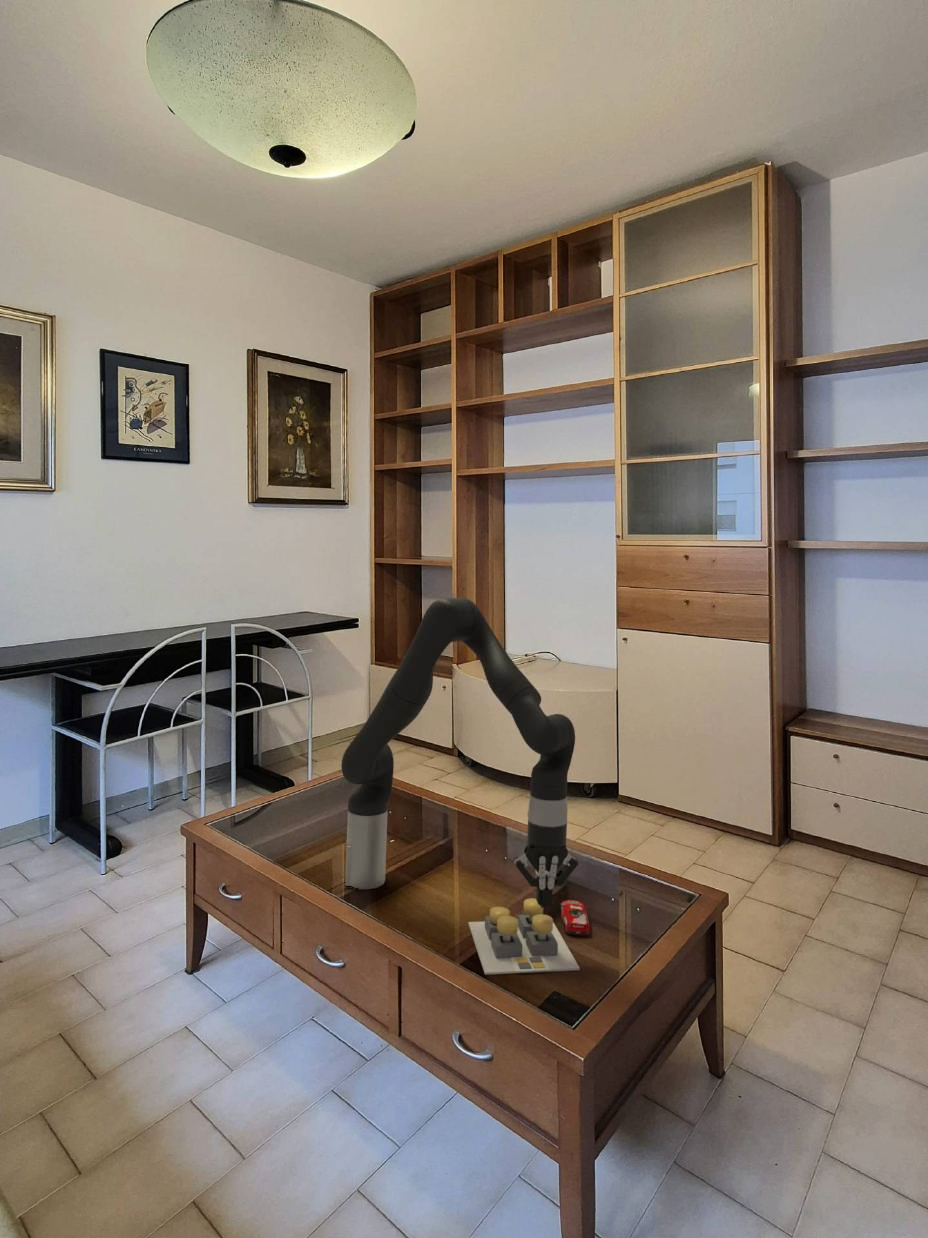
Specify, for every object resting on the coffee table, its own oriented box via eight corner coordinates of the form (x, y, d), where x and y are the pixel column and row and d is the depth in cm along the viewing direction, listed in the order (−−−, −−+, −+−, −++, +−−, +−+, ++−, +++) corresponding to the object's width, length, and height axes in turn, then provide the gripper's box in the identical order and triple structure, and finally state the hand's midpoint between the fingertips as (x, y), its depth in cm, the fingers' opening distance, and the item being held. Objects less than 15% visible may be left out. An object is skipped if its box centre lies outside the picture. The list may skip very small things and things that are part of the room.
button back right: (525, 928, 142) (526, 907, 142) (520, 919, 146) (521, 898, 146) (544, 927, 143) (545, 907, 143) (539, 918, 147) (540, 898, 147)
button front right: (534, 946, 135) (535, 924, 135) (529, 936, 139) (530, 914, 139) (554, 945, 136) (555, 924, 136) (548, 935, 140) (549, 914, 140)
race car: (559, 908, 157) (559, 891, 157) (583, 910, 157) (584, 892, 157) (563, 938, 144) (564, 918, 144) (590, 939, 144) (591, 920, 144)
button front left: (498, 948, 134) (499, 926, 134) (494, 937, 138) (495, 916, 138) (519, 947, 135) (520, 925, 135) (514, 936, 139) (515, 915, 139)
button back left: (491, 937, 141) (492, 916, 141) (487, 927, 145) (488, 907, 145) (510, 936, 142) (511, 915, 142) (506, 926, 146) (507, 906, 146)
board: (485, 976, 129) (485, 961, 128) (468, 924, 148) (468, 911, 148) (580, 971, 131) (581, 956, 131) (551, 921, 151) (552, 908, 150)
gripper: (518, 825, 132) (515, 916, 133) (586, 824, 134) (582, 913, 135) (509, 812, 139) (506, 898, 140) (574, 811, 141) (570, 896, 142)
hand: (544, 906), depth 137 cm, fingers closed
